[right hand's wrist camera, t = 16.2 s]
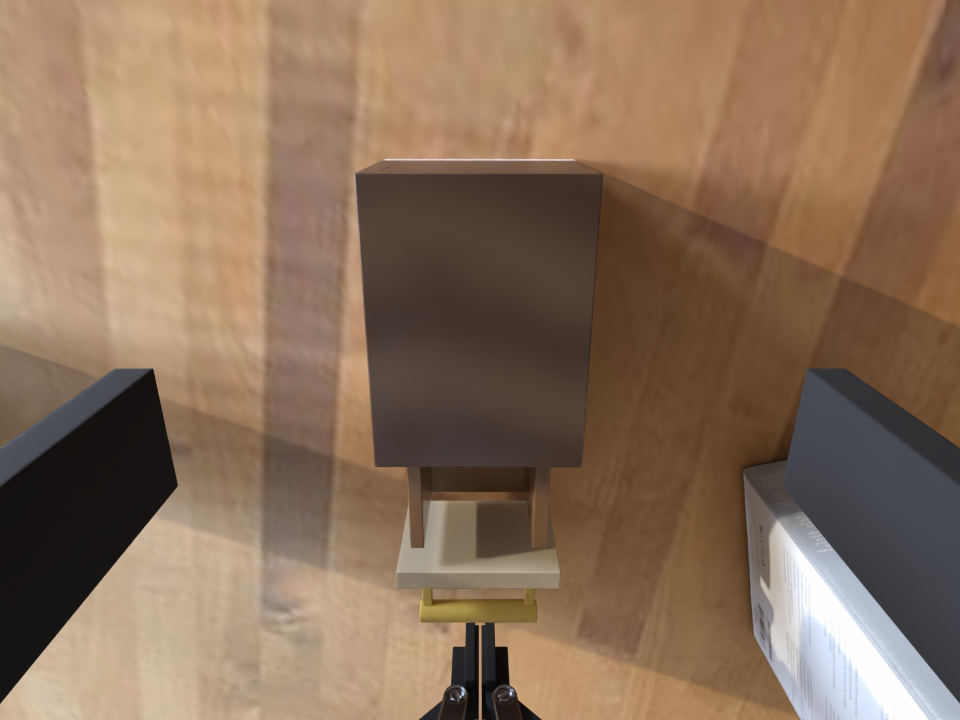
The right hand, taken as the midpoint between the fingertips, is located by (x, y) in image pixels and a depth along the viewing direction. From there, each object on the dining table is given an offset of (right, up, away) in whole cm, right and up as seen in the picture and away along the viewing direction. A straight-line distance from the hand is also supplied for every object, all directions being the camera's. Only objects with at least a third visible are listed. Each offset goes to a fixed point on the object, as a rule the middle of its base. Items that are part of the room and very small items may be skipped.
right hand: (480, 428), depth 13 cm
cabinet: (0, +6, +25) cm, 26 cm away
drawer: (0, -6, +29) cm, 29 cm away
